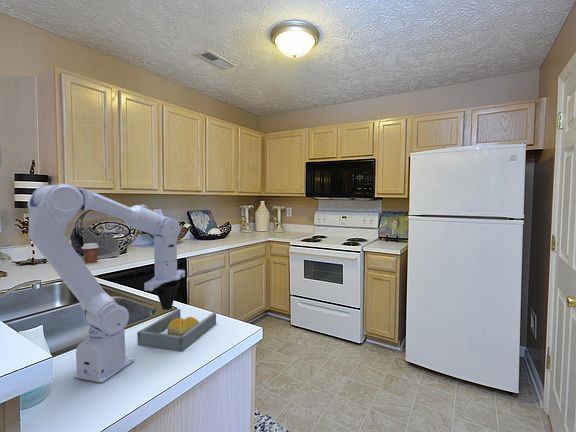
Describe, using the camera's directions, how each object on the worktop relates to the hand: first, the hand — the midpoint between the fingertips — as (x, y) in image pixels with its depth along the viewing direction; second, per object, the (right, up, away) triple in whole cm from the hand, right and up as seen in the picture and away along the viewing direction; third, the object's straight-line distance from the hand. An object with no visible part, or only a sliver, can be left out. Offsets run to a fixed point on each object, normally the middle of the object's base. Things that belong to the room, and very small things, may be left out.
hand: (167, 308), depth 83 cm
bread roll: (+2, -9, +8) cm, 12 cm away
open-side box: (+1, -9, +6) cm, 11 cm away
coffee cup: (-87, -4, +101) cm, 134 cm away
